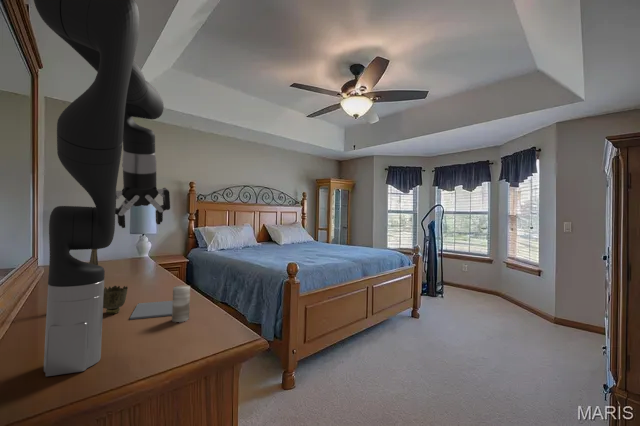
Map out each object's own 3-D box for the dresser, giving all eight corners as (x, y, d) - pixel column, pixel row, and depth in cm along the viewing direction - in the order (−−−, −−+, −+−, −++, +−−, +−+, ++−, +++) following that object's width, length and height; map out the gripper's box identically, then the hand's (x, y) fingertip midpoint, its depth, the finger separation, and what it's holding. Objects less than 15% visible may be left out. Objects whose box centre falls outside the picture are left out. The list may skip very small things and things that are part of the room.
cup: (132, 310, 98) (133, 286, 98) (114, 317, 91) (115, 291, 91) (111, 308, 99) (112, 284, 99) (92, 315, 91) (93, 290, 92)
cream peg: (189, 321, 89) (190, 288, 89) (171, 323, 87) (172, 289, 87) (189, 316, 93) (190, 284, 94) (172, 318, 91) (173, 285, 92)
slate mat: (187, 314, 96) (187, 312, 96) (129, 319, 89) (129, 317, 89) (187, 301, 110) (187, 299, 110) (138, 305, 104) (138, 303, 104)
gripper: (109, 172, 70) (112, 234, 75) (173, 172, 79) (172, 227, 84) (104, 164, 75) (108, 222, 80) (165, 165, 84) (165, 217, 89)
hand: (141, 225), depth 82 cm, fingers open, 8 cm apart
